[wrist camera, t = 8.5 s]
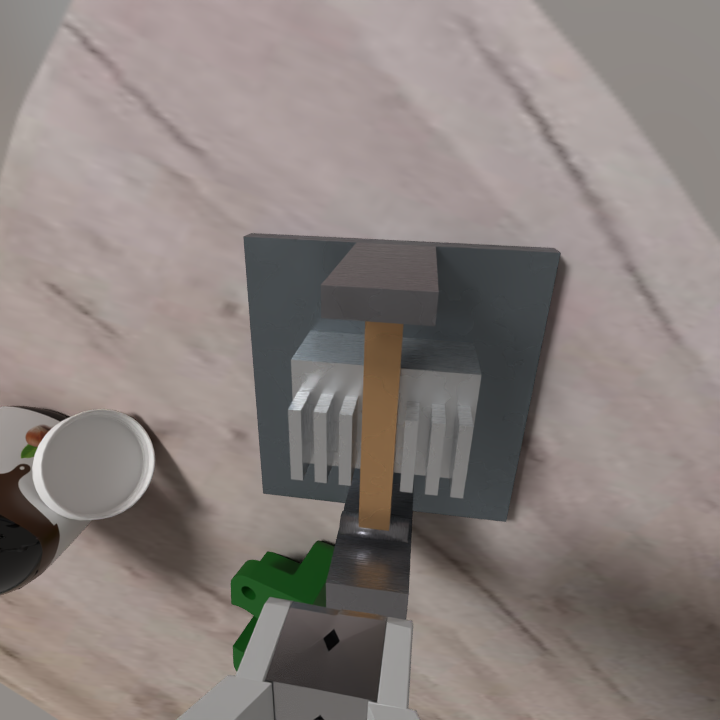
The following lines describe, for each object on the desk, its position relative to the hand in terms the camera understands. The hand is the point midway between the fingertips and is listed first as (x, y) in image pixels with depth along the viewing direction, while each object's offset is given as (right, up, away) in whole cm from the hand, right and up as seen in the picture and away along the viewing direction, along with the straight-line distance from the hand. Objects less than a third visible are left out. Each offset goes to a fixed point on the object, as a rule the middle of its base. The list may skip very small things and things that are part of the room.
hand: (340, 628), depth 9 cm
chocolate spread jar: (-20, 0, +24) cm, 31 cm away
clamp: (-4, -12, +27) cm, 30 cm away
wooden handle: (+1, +2, +13) cm, 13 cm away
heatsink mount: (+2, +4, +18) cm, 19 cm away
